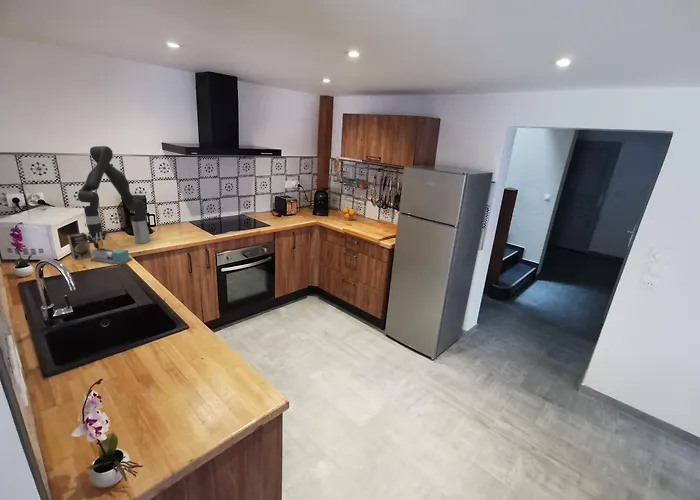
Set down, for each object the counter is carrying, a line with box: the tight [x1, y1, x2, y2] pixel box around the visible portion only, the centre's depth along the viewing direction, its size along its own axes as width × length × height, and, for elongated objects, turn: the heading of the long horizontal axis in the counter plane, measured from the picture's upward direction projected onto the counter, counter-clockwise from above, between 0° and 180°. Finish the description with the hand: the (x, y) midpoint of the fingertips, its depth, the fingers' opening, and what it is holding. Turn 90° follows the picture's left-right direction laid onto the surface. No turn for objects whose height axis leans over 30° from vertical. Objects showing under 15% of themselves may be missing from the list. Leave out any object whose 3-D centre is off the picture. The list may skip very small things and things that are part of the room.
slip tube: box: [95, 240, 113, 258], centre depth 224 cm, size 12×4×11 cm, turn 78°
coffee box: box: [67, 232, 92, 261], centre depth 226 cm, size 9×6×16 cm
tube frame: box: [90, 247, 133, 266], centre depth 225 cm, size 22×10×8 cm, turn 78°
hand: (99, 247), depth 225 cm, fingers closed on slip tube, 2 cm apart
